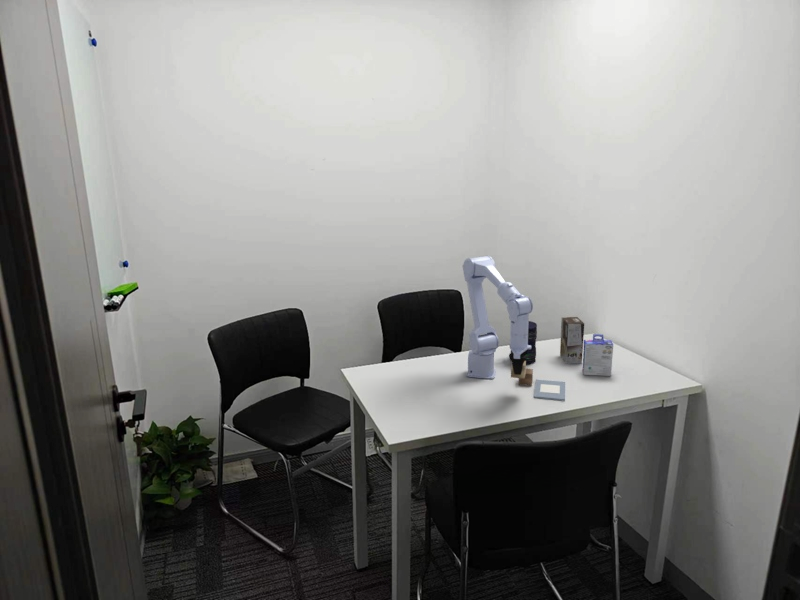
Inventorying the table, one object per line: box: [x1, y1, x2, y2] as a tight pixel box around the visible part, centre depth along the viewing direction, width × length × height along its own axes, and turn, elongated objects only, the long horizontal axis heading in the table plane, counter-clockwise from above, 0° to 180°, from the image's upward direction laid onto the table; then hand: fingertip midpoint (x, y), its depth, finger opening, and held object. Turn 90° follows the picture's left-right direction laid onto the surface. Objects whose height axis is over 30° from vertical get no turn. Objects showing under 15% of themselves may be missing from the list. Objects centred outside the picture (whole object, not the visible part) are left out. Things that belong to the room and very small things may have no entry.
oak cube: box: [510, 361, 527, 379], centre depth 180 cm, size 4×4×4 cm
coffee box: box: [559, 316, 585, 364], centre depth 209 cm, size 9×6×16 cm
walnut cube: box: [518, 368, 534, 387], centre depth 191 cm, size 4×4×4 cm
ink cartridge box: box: [581, 333, 614, 377], centre depth 195 cm, size 10×6×14 cm, turn 78°
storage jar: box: [510, 320, 538, 366], centre depth 209 cm, size 10×10×15 cm
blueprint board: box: [533, 379, 566, 402], centre depth 184 cm, size 10×14×1 cm
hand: (518, 371), depth 180 cm, fingers closed on oak cube, 4 cm apart
